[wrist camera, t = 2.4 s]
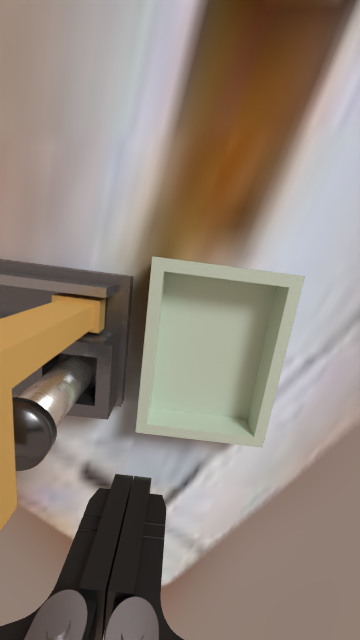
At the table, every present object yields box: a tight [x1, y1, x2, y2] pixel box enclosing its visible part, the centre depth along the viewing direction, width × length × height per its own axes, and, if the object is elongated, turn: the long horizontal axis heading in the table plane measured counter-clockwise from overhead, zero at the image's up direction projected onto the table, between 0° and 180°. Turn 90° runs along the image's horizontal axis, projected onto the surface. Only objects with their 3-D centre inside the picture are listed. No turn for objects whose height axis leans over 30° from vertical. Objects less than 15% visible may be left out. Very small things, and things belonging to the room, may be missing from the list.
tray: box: [136, 257, 305, 447], centre depth 22 cm, size 16×12×3 cm
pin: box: [12, 354, 97, 471], centre depth 18 cm, size 4×4×10 cm
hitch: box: [0, 259, 133, 420], centre depth 22 cm, size 13×15×4 cm
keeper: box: [0, 293, 106, 531], centre depth 15 cm, size 9×4×16 cm, turn 173°
